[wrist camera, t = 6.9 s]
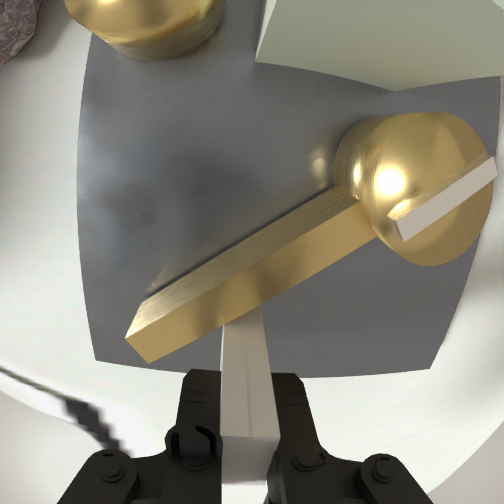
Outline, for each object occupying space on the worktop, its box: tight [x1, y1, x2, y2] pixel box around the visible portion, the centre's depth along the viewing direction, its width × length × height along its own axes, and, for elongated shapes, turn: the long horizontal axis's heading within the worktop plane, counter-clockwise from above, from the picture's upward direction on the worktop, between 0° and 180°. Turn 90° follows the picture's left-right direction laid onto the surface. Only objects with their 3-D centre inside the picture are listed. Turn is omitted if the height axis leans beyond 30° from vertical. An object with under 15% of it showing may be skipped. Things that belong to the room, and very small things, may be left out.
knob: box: [125, 112, 498, 364], centre depth 11 cm, size 14×5×5 cm, turn 121°
